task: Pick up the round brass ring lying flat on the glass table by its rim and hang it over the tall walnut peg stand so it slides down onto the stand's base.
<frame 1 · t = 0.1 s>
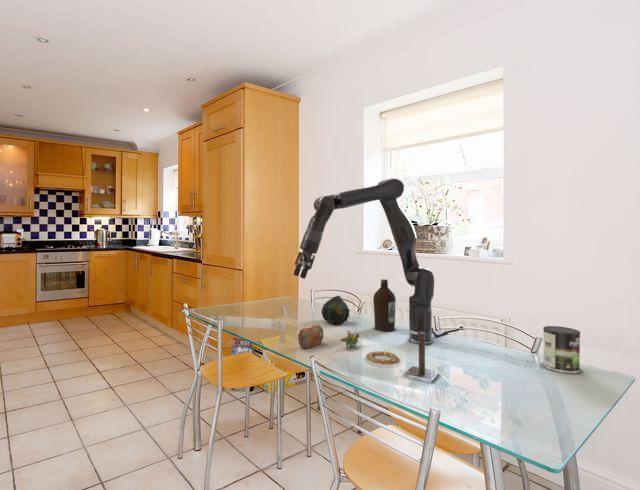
hand: (298, 276, 165), 31 cm above the table, tool tilted 20°, fingers open, 8 cm apart
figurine: (349, 350, 166), on the table
squash: (335, 322, 212), on the table
reddish brown stone: (310, 346, 172), on the table
olive oil: (384, 329, 197), on the table
rack: (421, 376, 136), on the table
coffee can: (561, 368, 141), on the table
brass ring: (382, 358, 151), point 1 cm above the table
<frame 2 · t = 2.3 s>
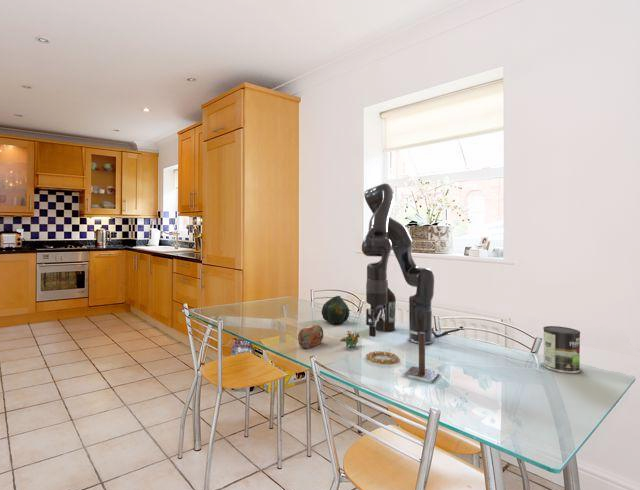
hand: (376, 333, 147), 12 cm above the table, tool pointing down, fingers open, 8 cm apart
nothing on the table moved.
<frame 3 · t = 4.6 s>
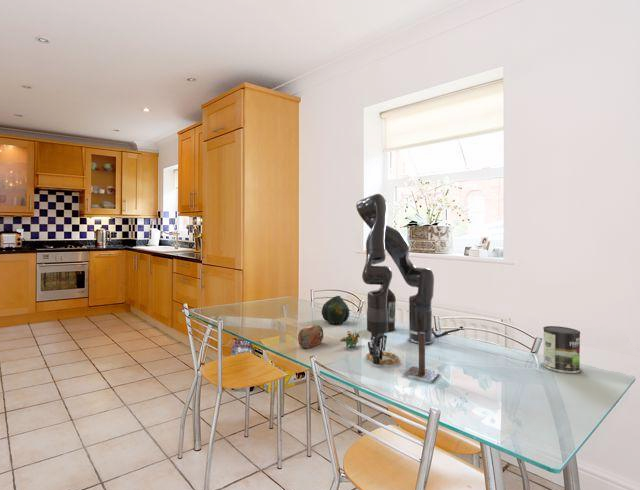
hand: (377, 364, 147), 0 cm above the table, tool pointing down, fingers closed on brass ring, 2 cm apart
brass ring: (382, 358, 151), point 1 cm above the table, touching gripper
everything else where it was.
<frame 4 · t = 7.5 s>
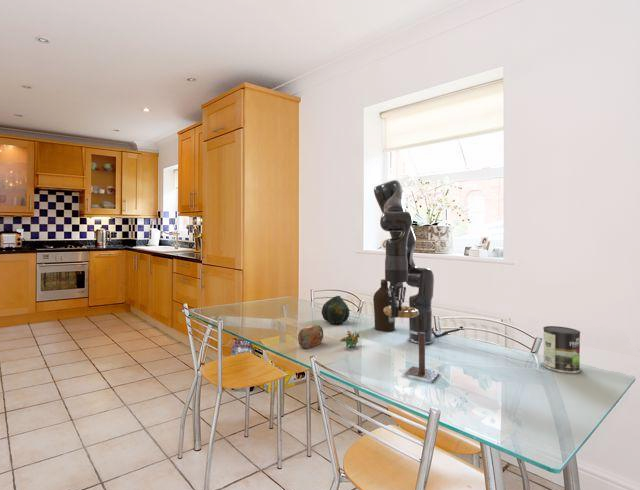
hand: (396, 316, 139), 20 cm above the table, tool pointing down, fingers closed on brass ring, 2 cm apart
brass ring: (400, 311, 142), point 21 cm above the table, touching gripper
everything else where it was.
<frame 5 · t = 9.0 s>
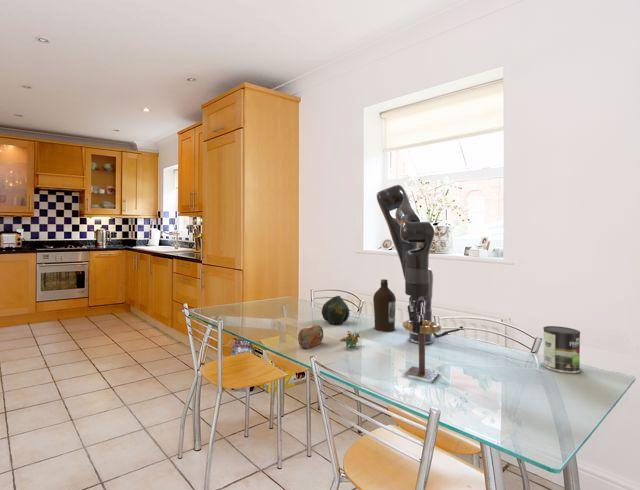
hand: (417, 331, 132), 17 cm above the table, tool pointing down, fingers closed on brass ring, 2 cm apart
brass ring: (421, 326, 136), point 17 cm above the table, touching gripper
everything else where it was.
when the fingers open (13 cm above the table, at t = 10.5 s): brass ring drops 11 cm, resting on rack.
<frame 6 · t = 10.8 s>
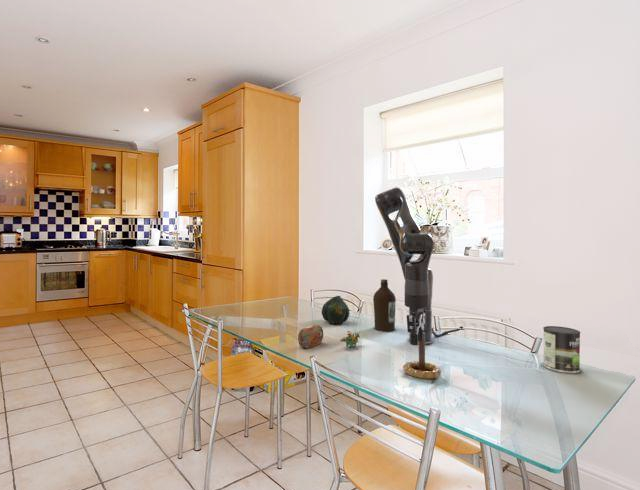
hand: (416, 342, 131), 13 cm above the table, tool pointing down, fingers open, 5 cm apart
brass ring: (421, 369, 136), point 2 cm above the table, touching rack
everything else where it was.
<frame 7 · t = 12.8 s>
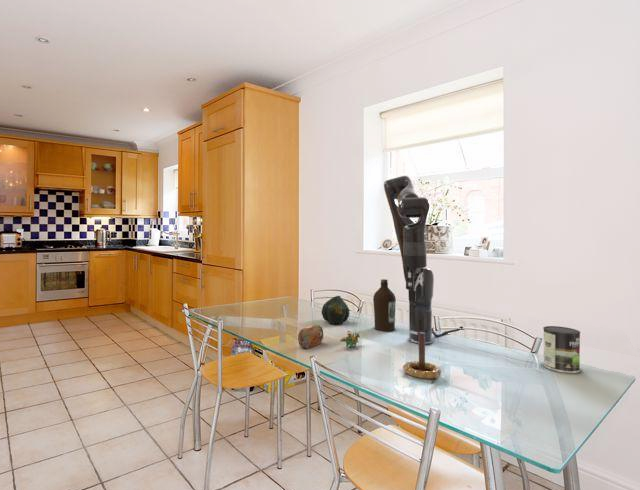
hand: (415, 298, 140), 26 cm above the table, tool pointing down, fingers open, 8 cm apart
nothing on the table moved.
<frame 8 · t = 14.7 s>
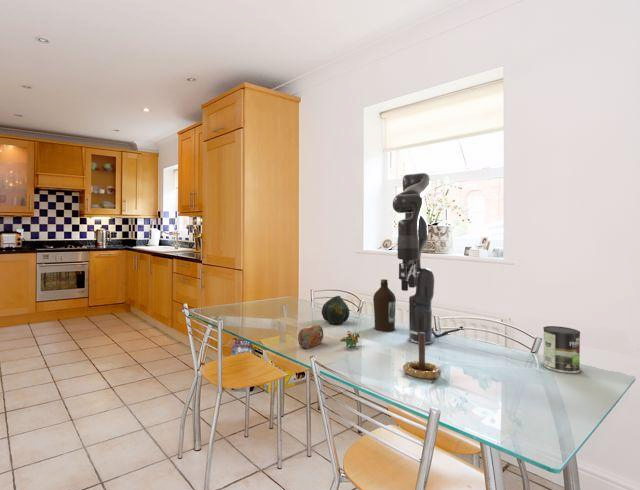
hand: (408, 289, 150), 28 cm above the table, tool pointing down, fingers open, 8 cm apart
nothing on the table moved.
at the end: brass ring 0.5 cm from the rack (horizontally); brass ring point 2.4 cm above the table; the gripper is holding nothing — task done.
